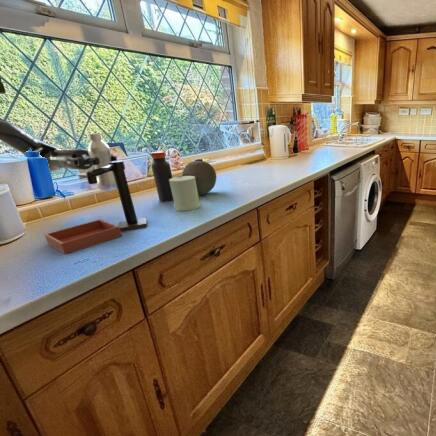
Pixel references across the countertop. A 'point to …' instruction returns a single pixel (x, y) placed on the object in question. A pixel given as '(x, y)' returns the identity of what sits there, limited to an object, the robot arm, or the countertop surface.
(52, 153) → the robot arm
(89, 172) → the spout
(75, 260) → the countertop surface
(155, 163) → the vinegar
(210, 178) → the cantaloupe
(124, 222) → the faucet base
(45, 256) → the countertop surface
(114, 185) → the plastic bottle
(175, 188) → the can
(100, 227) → the reddish brown tray
